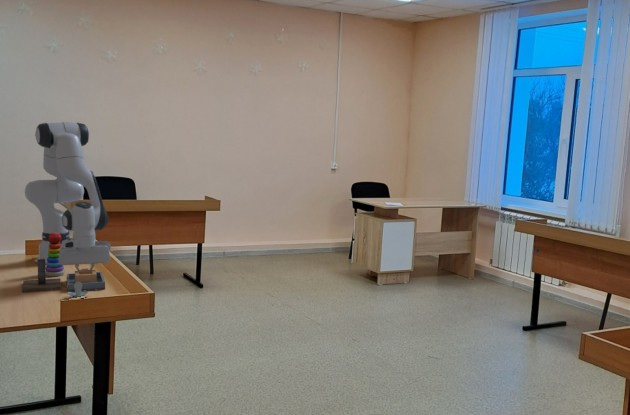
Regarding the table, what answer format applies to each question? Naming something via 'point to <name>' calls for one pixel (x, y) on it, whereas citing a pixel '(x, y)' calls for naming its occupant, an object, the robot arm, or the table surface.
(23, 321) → the table surface
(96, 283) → the tray
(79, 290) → the pacifier
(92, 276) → the light brown flat block
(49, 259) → the stacking toy
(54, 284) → the post stand
